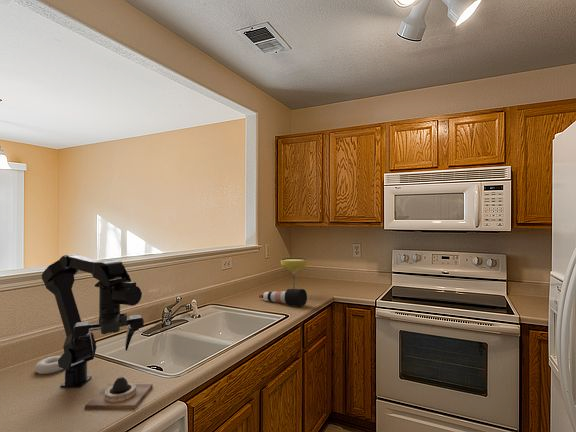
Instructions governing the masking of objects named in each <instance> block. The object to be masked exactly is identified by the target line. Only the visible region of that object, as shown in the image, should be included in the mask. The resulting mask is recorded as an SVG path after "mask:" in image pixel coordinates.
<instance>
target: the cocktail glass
mask: <svg viewBox="0 0 576 432" xmlns="http://www.w3.org/2000/svg"><path fill="white" fill-rule="evenodd" d="M307 262H308V260H307V259H306V258H300V257H289V258H288V257H287V258H281V259H280V265H281V266H282V267H283V269H286V270H287V271H289V272H291V274H292V276H293V277H292V278H293V282H292V283H293V284H292V285H293V286H292V287H293V288H292V289H295V274H297V272H298V271H300V270H301V269H302V270H303V268H305V267H306V266H307Z"/></svg>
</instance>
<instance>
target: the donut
mask: <svg viewBox="0 0 576 432" xmlns="http://www.w3.org/2000/svg"><path fill="white" fill-rule="evenodd" d="M61 356H62V355H55V356H54V355H53V356H49V357H46V358H43V359H41V360H40V361H38V362H37V364H35V366H34V370H35V372H36V373H37V374H40V375H48V374H54V373H58V372H61V371H63V370H64V369H63V368H60V367H59V365H58V360H59V358H60V357H61Z"/></svg>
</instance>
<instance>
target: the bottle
mask: <svg viewBox="0 0 576 432" xmlns="http://www.w3.org/2000/svg"><path fill="white" fill-rule="evenodd" d="M258 298H259V299H263V300H264V301H265V302H273V303H278V304H279V303H284V304H286V305H287V306H290V305H291V306H292V307H294V306H296V307H304V306H306V304H307V301H308V294H307V291H306V290H305V288H294V289H293V288H288V289H286V291H285V290H281V291H280V290H277V291H265V292H264V293H263V294H259V295H258Z"/></svg>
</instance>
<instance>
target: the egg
mask: <svg viewBox="0 0 576 432" xmlns="http://www.w3.org/2000/svg"><path fill="white" fill-rule="evenodd" d="M128 382H129V381H127V379H126V378H125V377H123V376H119V377H117V378H116V379H115V381H114V383H113V384H114V385H113V393H114V394H121V393H125V392H127V390H128Z"/></svg>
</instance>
